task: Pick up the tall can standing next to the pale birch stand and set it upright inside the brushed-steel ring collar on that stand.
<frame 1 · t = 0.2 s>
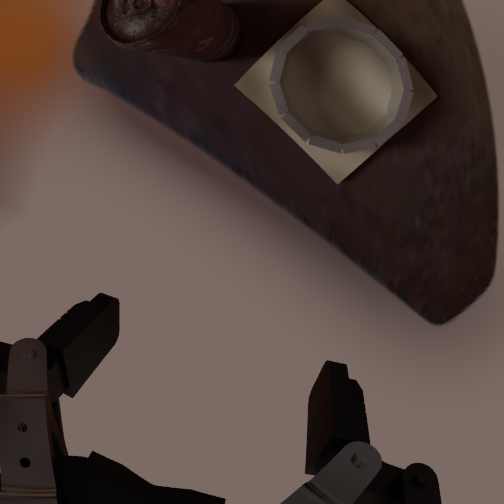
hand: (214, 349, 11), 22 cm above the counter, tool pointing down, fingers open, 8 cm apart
collar: (340, 84, 23), on the stand, point 3 cm above the counter
stand: (338, 85, 25), on the counter
can: (213, 32, 25), on the counter
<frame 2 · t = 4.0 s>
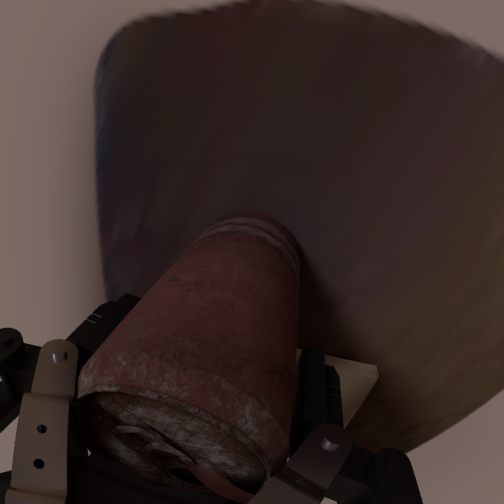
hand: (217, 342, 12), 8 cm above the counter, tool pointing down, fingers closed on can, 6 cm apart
stand: (266, 406, 24), on the counter
can: (251, 258, 20), on the counter, touching gripper
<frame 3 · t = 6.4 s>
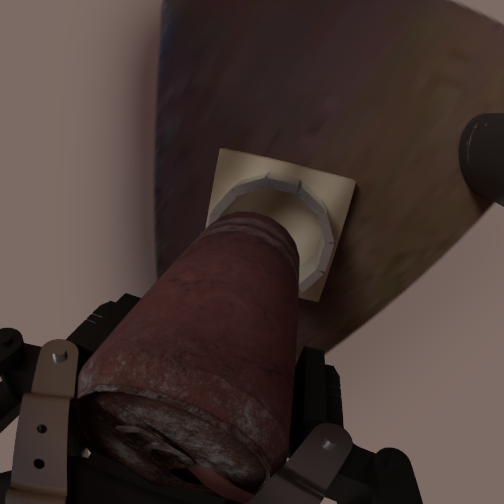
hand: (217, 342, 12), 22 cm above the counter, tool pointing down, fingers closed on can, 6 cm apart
collar: (270, 235, 30), on the stand, point 3 cm above the counter
stand: (273, 225, 32), on the counter
can: (251, 258, 20), point 13 cm above the counter, touching gripper
when the fingers open (11 cm above the counter, at t = 9.2 s): can drops 1 cm, resting on stand.
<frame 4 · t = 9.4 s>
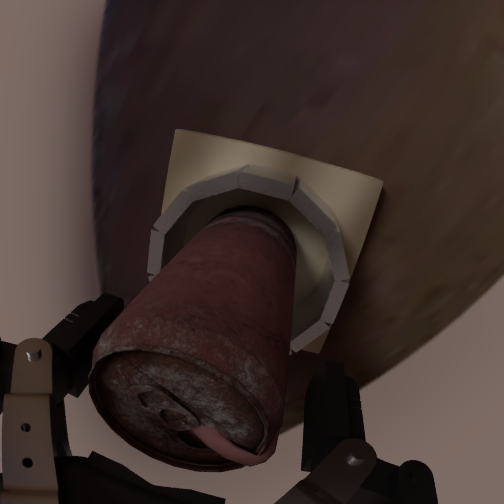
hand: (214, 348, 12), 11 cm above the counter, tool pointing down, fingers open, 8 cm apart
collar: (249, 263, 19), on the stand, point 3 cm above the counter
stand: (256, 245, 22), on the counter
can: (251, 250, 21), point 1 cm above the counter, touching stand
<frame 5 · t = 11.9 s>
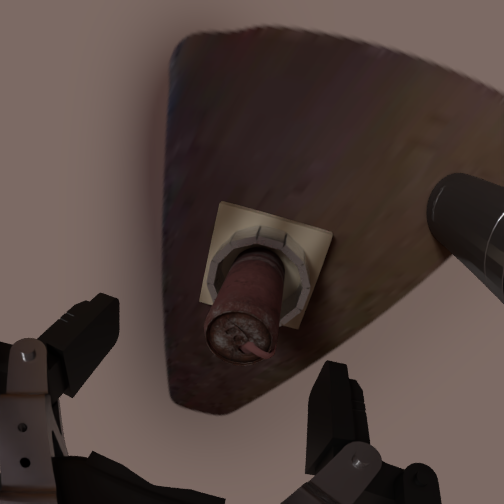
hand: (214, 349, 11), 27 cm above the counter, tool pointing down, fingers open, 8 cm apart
collar: (259, 278, 36), on the stand, point 3 cm above the counter
stand: (262, 266, 39), on the counter
can: (260, 269, 38), point 1 cm above the counter, touching stand
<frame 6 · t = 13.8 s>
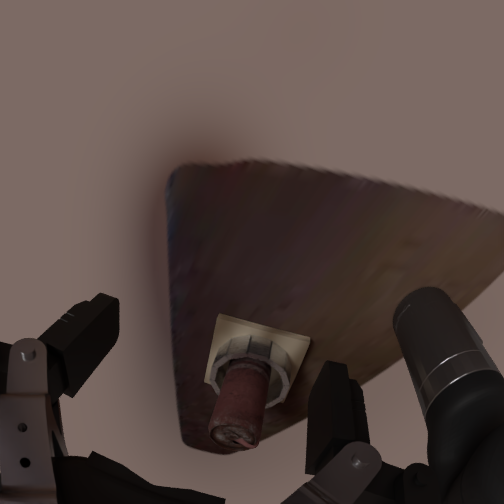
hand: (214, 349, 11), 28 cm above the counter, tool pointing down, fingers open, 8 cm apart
collar: (251, 373, 43), on the stand, point 3 cm above the counter
stand: (254, 359, 46), on the counter
can: (252, 363, 45), point 1 cm above the counter, touching stand
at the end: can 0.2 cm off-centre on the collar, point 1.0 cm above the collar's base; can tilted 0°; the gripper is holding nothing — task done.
